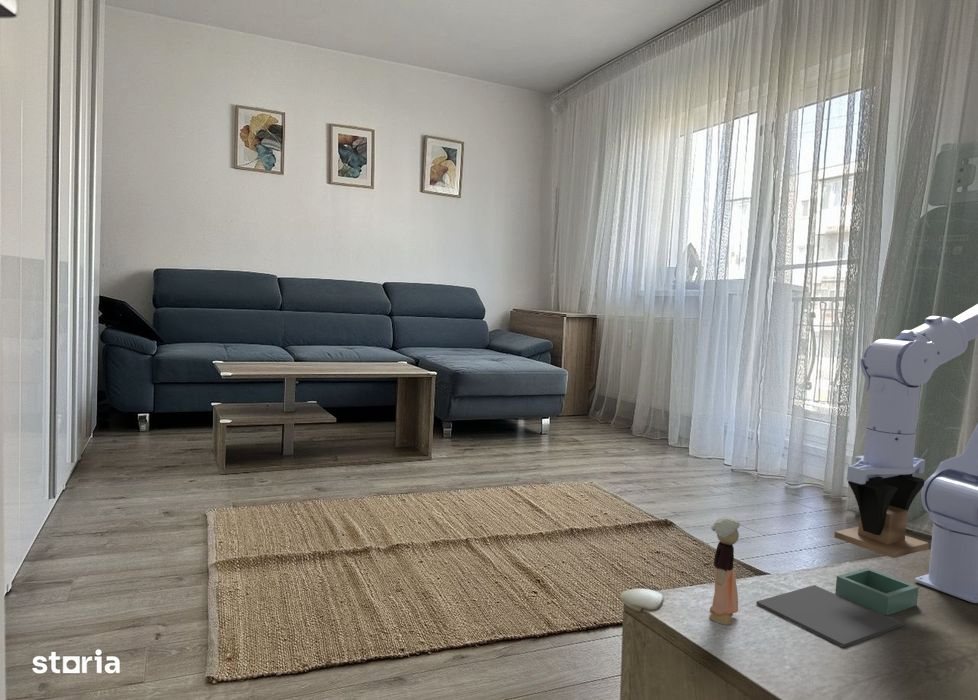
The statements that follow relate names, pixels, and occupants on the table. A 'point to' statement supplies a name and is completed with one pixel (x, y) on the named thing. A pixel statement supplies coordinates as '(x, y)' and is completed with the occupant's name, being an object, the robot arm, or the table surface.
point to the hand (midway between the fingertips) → (881, 530)
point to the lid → (885, 536)
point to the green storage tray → (877, 591)
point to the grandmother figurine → (725, 571)
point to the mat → (829, 615)
